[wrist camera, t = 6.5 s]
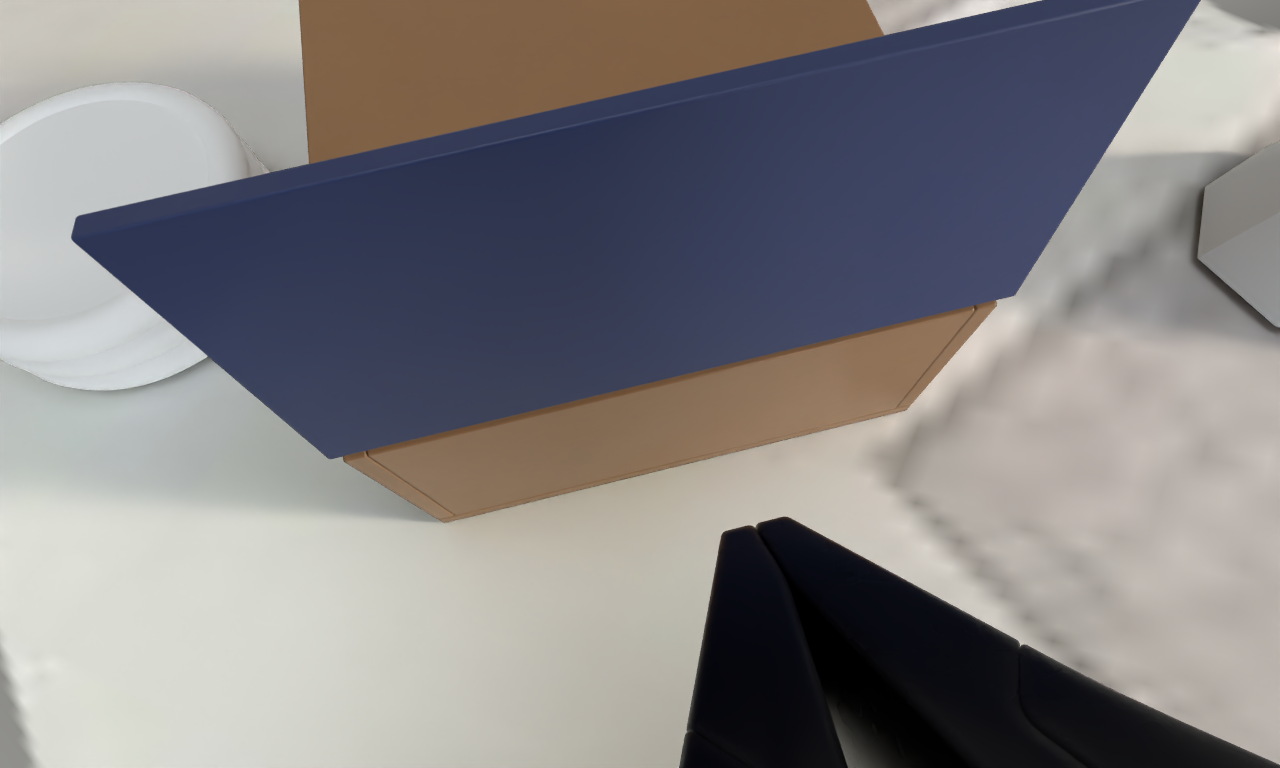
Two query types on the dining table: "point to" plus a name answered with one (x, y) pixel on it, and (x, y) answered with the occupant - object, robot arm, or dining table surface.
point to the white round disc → (88, 182)
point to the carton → (559, 77)
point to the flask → (1246, 230)
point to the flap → (644, 225)
